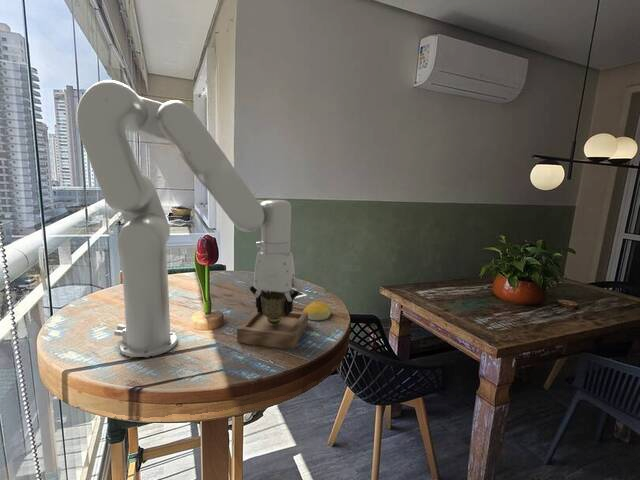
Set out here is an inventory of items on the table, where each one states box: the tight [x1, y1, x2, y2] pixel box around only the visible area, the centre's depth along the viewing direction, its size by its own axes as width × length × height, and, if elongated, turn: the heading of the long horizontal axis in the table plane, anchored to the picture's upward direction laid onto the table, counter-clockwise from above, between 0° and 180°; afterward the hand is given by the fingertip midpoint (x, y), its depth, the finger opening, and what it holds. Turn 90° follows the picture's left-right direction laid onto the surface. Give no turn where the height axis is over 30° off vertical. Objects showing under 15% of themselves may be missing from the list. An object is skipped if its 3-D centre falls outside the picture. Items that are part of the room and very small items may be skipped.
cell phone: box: [292, 287, 308, 300], centre depth 128 cm, size 8×16×1 cm, turn 40°
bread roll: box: [302, 300, 332, 321], centre depth 106 cm, size 8×9×4 cm
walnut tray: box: [236, 308, 309, 351], centre depth 93 cm, size 15×15×4 cm
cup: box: [261, 291, 287, 324], centre depth 92 cm, size 8×7×8 cm
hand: (274, 311), depth 92 cm, fingers closed on cup, 7 cm apart
